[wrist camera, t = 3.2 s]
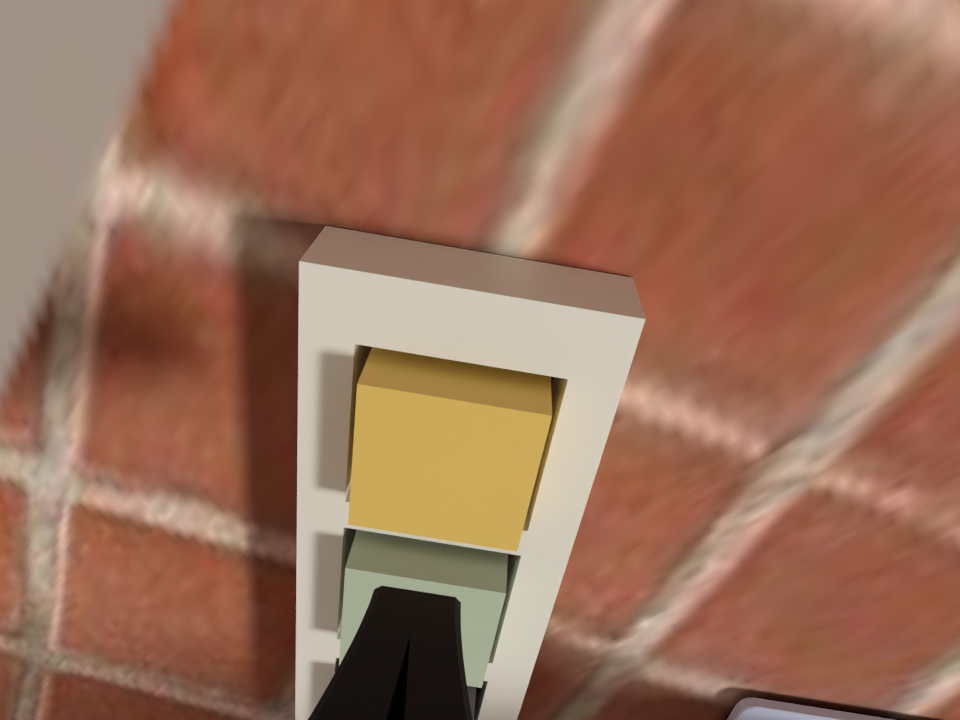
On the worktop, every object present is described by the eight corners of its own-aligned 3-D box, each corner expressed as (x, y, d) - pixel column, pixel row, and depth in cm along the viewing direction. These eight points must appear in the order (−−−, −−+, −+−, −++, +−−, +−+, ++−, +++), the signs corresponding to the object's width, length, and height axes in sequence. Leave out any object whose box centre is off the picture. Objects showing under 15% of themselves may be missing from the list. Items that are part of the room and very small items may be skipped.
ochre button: (518, 498, 17) (517, 551, 16) (364, 472, 17) (348, 524, 16) (550, 368, 15) (551, 415, 14) (374, 339, 15) (357, 383, 14)
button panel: (496, 735, 25) (493, 792, 23) (311, 706, 25) (294, 762, 23) (632, 277, 15) (645, 319, 13) (325, 225, 15) (299, 260, 13)
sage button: (485, 631, 20) (481, 688, 19) (353, 610, 20) (339, 665, 18) (508, 538, 18) (506, 593, 16) (361, 515, 18) (345, 567, 16)
